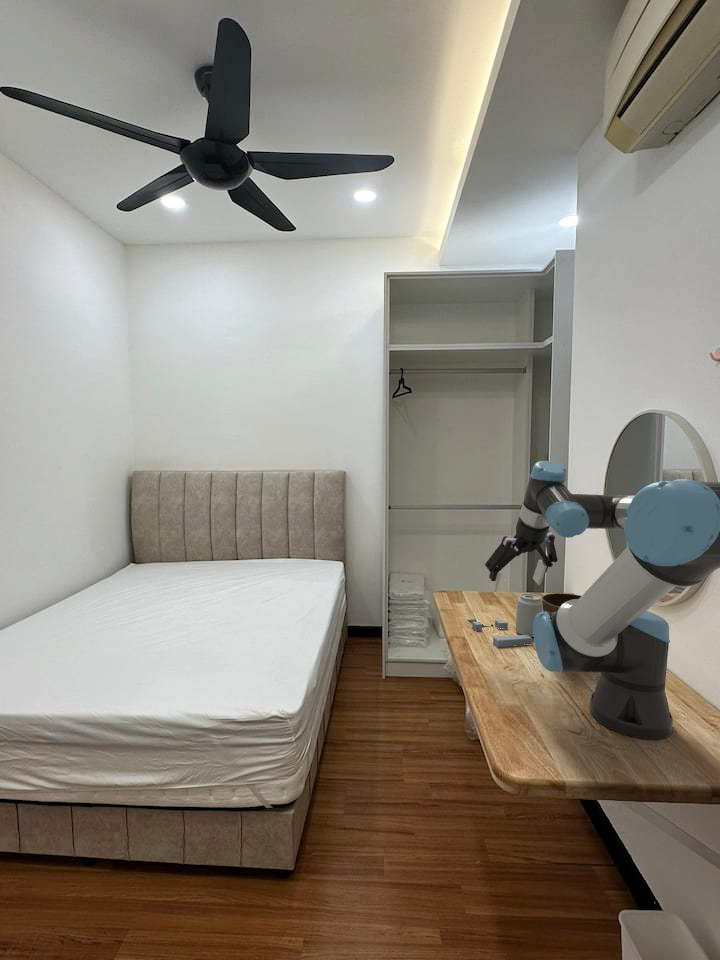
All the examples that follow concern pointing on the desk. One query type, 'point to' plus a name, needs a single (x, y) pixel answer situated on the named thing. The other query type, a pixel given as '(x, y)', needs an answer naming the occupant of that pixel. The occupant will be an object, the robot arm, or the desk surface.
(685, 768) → the desk surface
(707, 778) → the desk surface
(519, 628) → the can
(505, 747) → the desk surface
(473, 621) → the trap square
